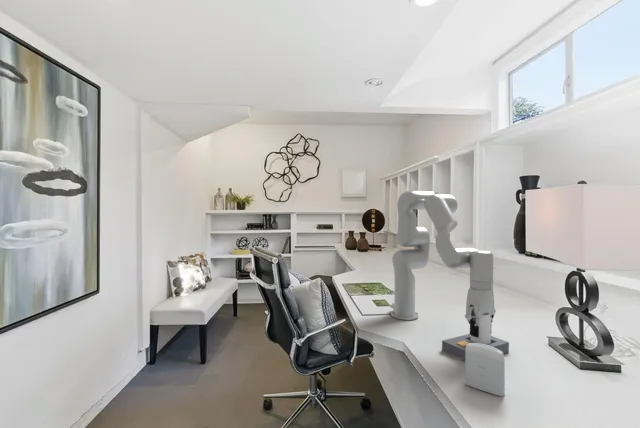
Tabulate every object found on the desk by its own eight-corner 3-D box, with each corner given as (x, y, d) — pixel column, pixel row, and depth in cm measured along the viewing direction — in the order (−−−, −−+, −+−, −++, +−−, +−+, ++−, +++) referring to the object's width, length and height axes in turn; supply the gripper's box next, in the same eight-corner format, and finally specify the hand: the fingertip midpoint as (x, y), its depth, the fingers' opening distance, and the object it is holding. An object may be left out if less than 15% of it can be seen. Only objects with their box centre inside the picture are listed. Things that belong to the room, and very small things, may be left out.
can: (479, 349, 117) (479, 315, 117) (466, 342, 124) (467, 310, 124) (494, 348, 119) (495, 314, 119) (481, 341, 125) (481, 309, 125)
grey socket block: (442, 350, 121) (442, 339, 121) (478, 340, 130) (478, 330, 130) (471, 363, 110) (471, 351, 110) (508, 352, 119) (508, 341, 119)
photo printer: (462, 384, 97) (463, 342, 96) (468, 379, 100) (468, 338, 100) (502, 398, 90) (502, 352, 89) (506, 392, 93) (507, 347, 93)
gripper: (487, 280, 129) (486, 327, 129) (456, 285, 120) (455, 335, 121) (506, 284, 122) (505, 333, 122) (474, 289, 114) (473, 342, 114)
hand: (480, 334), depth 121 cm, fingers closed on can, 6 cm apart
